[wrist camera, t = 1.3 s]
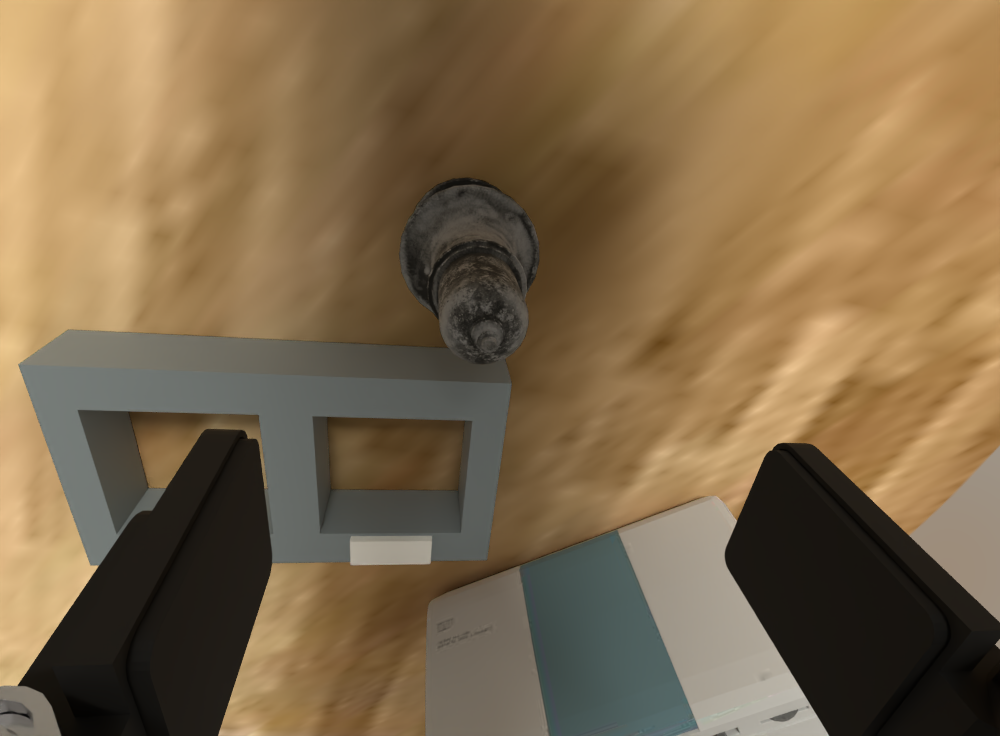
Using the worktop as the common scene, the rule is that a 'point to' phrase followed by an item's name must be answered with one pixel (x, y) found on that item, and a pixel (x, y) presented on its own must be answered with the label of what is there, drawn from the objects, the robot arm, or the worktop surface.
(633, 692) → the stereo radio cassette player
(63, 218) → the worktop surface
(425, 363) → the socket board
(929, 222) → the worktop surface
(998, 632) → the robot arm
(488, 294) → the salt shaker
